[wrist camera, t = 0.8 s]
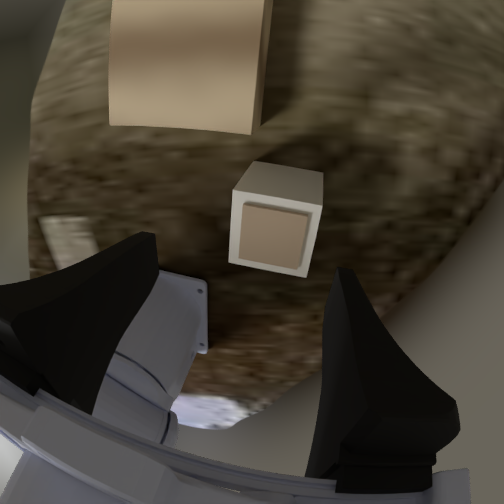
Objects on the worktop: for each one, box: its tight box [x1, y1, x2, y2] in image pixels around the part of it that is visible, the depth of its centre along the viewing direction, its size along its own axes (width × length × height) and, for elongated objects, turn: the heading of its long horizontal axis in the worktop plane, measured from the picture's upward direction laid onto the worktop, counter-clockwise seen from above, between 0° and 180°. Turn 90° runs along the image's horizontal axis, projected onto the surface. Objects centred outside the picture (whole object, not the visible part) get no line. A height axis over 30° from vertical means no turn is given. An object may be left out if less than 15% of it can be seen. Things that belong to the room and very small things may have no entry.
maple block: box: [109, 0, 273, 135], centre depth 15 cm, size 9×9×3 cm
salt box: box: [229, 161, 323, 278], centre depth 18 cm, size 4×4×5 cm
